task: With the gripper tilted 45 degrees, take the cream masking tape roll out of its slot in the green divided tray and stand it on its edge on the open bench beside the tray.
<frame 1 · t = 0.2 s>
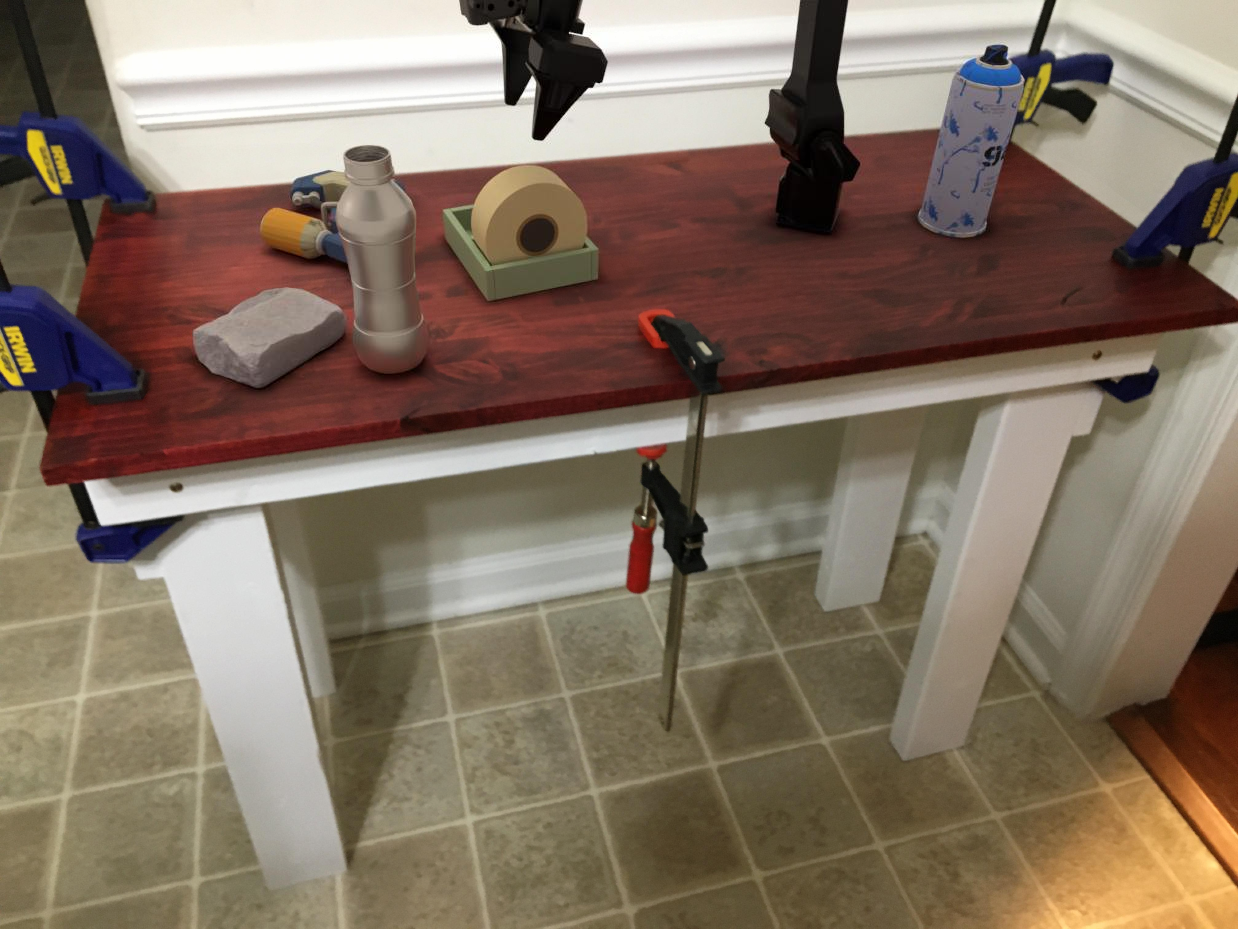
hand: (523, 121, 98), 15 cm above the table, tool pointing down, fingers open, 9 cm apart
green divided tray: (519, 258, 109), on the table
stone block: (270, 348, 95), on the table
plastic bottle: (394, 364, 93), on the table
spray gun: (338, 235, 112), on the table
masking tape roll: (529, 225, 103), point 5 cm above the table
aerosol can: (951, 223, 119), on the table
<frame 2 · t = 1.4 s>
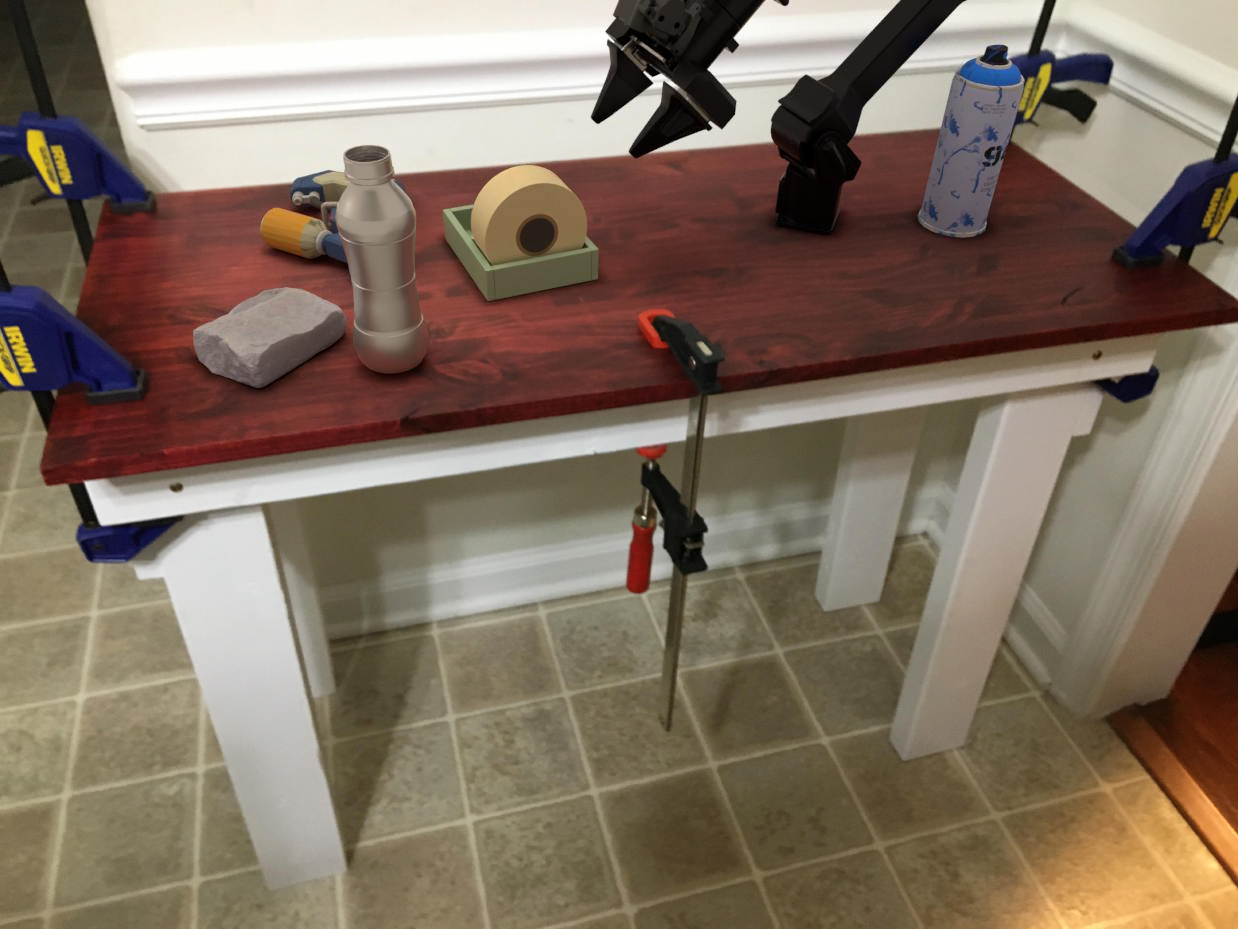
hand: (612, 137, 101), 13 cm above the table, tool tilted 45°, fingers open, 9 cm apart
nothing on the table moved.
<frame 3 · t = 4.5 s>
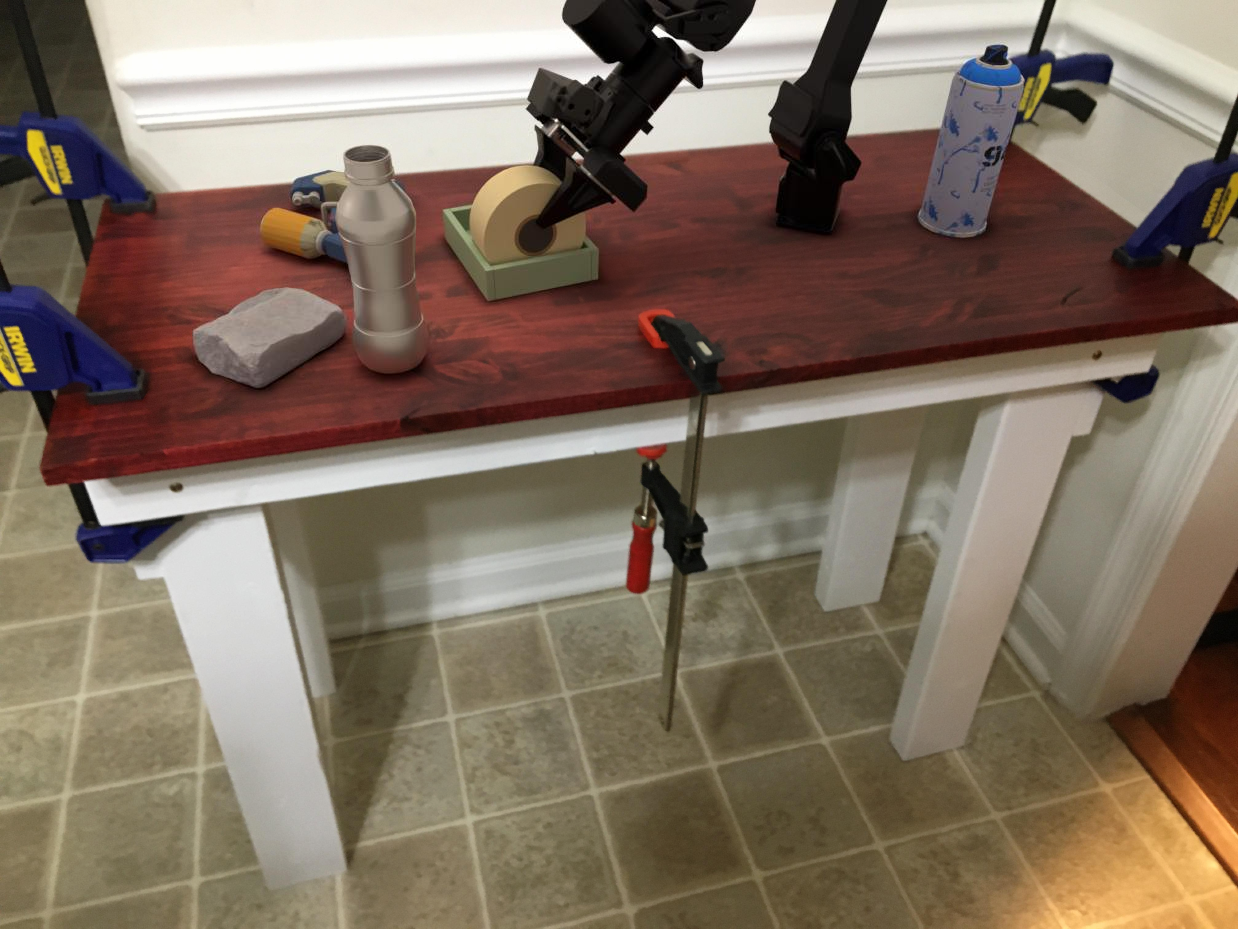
hand: (530, 215, 102), 7 cm above the table, tool tilted 45°, fingers closed on masking tape roll, 5 cm apart
masking tape roll: (527, 225, 103), point 5 cm above the table, touching gripper, green divided tray
everything else where it was.
when the fingers open (7 cm above the table, at t = 12.4 s): masking tape roll moves 2 cm, point 5 cm above the table.
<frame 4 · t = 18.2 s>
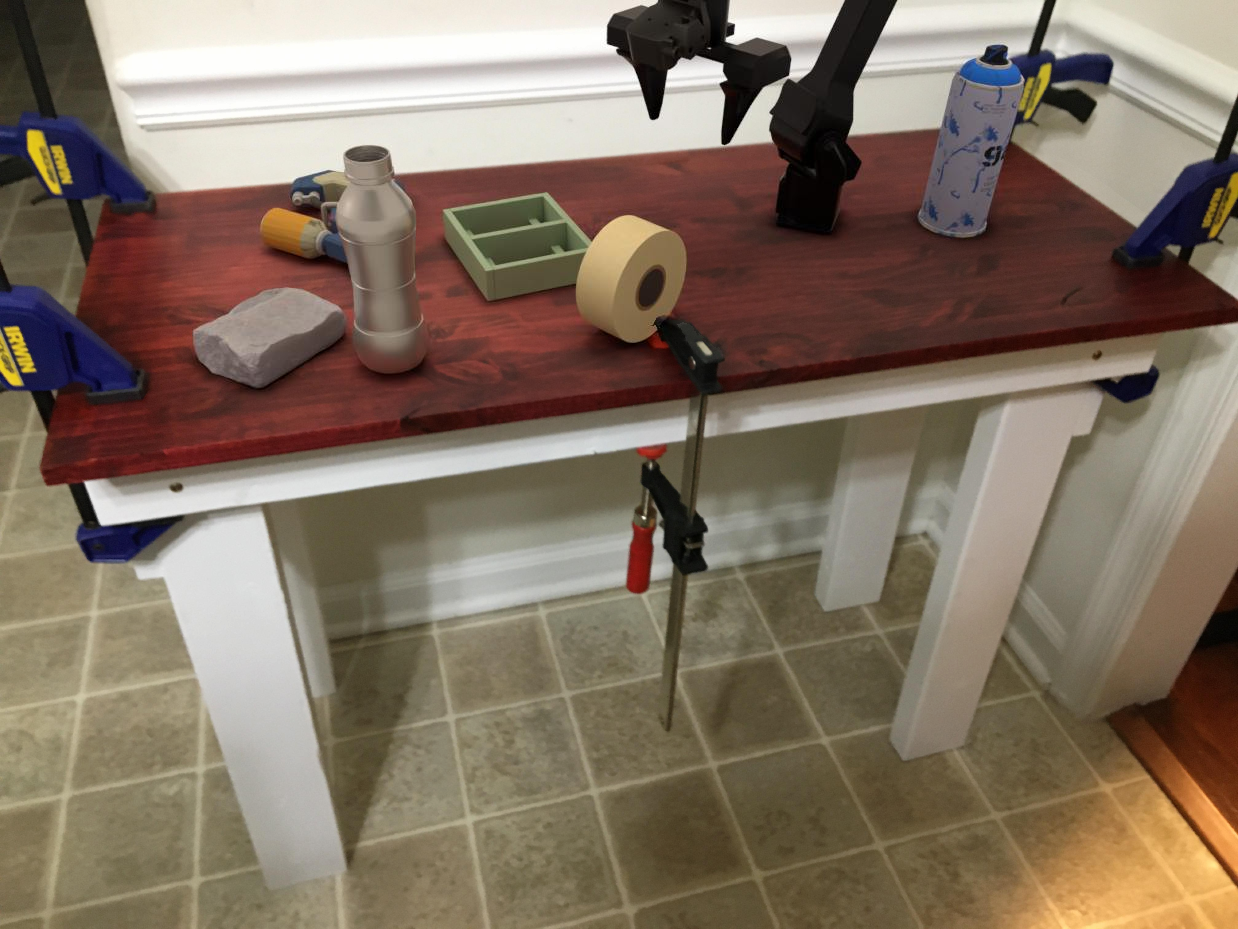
hand: (689, 131, 104), 13 cm above the table, tool pointing down, fingers open, 9 cm apart
masking tape roll: (632, 279, 95), point 5 cm above the table, tilted 20°
everything else where it was.
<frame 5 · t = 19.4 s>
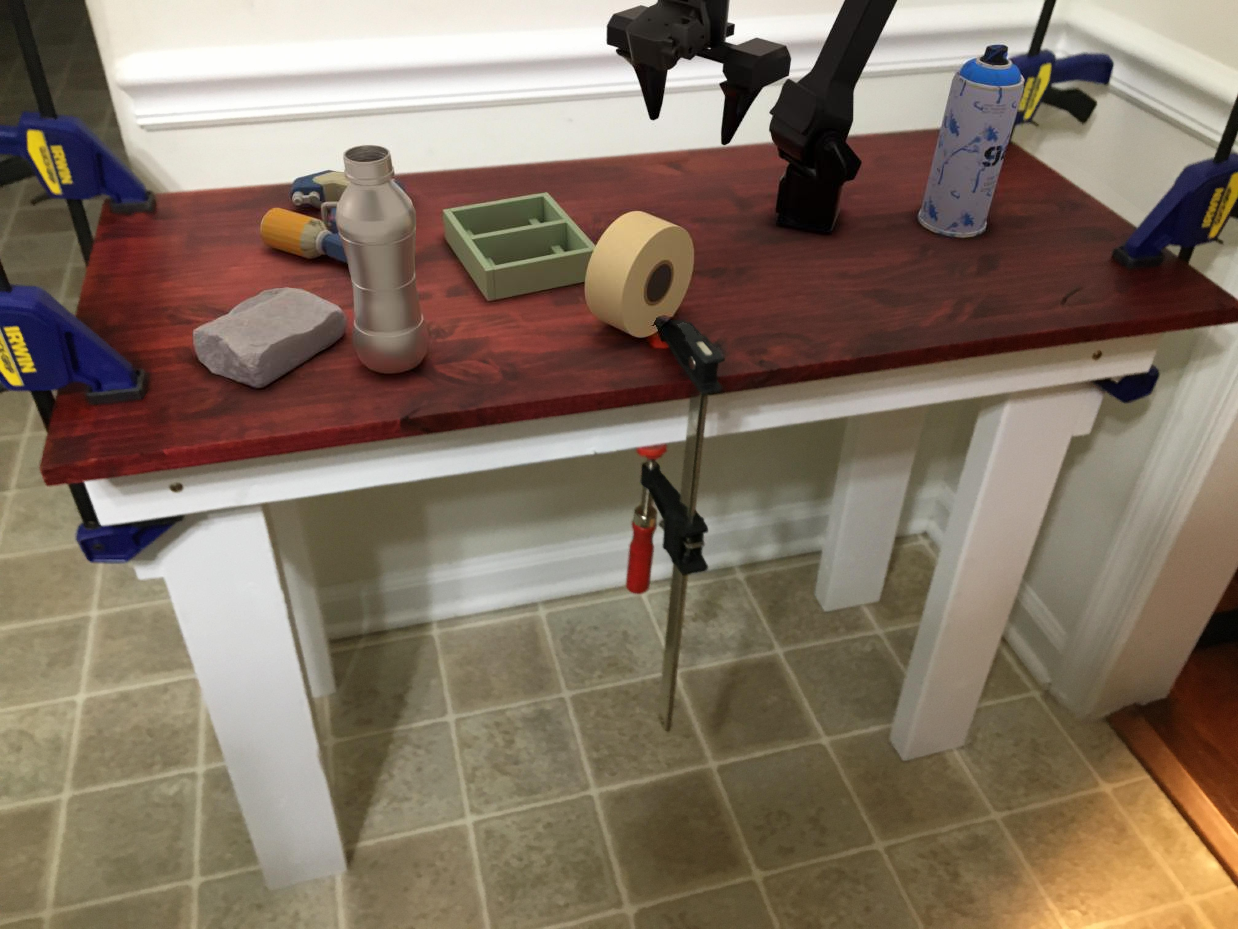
hand: (689, 131, 104), 13 cm above the table, tool pointing down, fingers open, 9 cm apart
masking tape roll: (640, 274, 96), point 5 cm above the table, tilted 33°
everything else where it was.
at the end: masking tape roll inside the target area (3.2 cm from its centre), point 5.5 cm above the table; masking tape roll point 5.5 cm above the table; the gripper is holding nothing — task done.
